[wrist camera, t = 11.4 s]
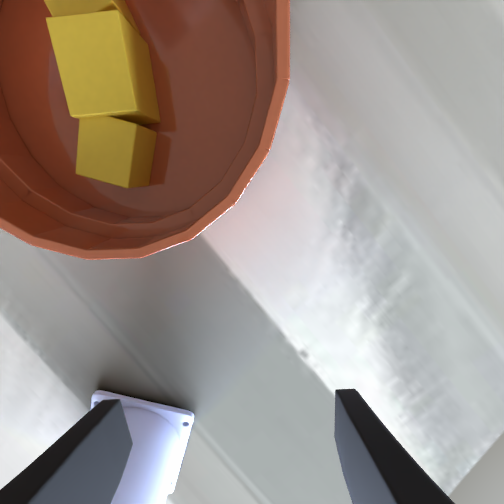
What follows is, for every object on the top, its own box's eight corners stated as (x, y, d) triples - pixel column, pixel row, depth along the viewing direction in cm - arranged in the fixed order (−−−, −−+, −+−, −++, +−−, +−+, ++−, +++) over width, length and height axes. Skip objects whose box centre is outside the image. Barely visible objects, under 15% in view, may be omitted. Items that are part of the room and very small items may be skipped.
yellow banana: (171, 184, 15) (150, 186, 12) (108, 188, 15) (74, 192, 12) (133, -48, 12) (94, -117, 9) (56, -39, 12) (-6, -104, 9)
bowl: (237, 262, 17) (228, 297, 12) (-12, 194, 16) (-126, 204, 11) (321, -41, 12) (361, -175, 8) (-21, -161, 11) (-221, -399, 7)
